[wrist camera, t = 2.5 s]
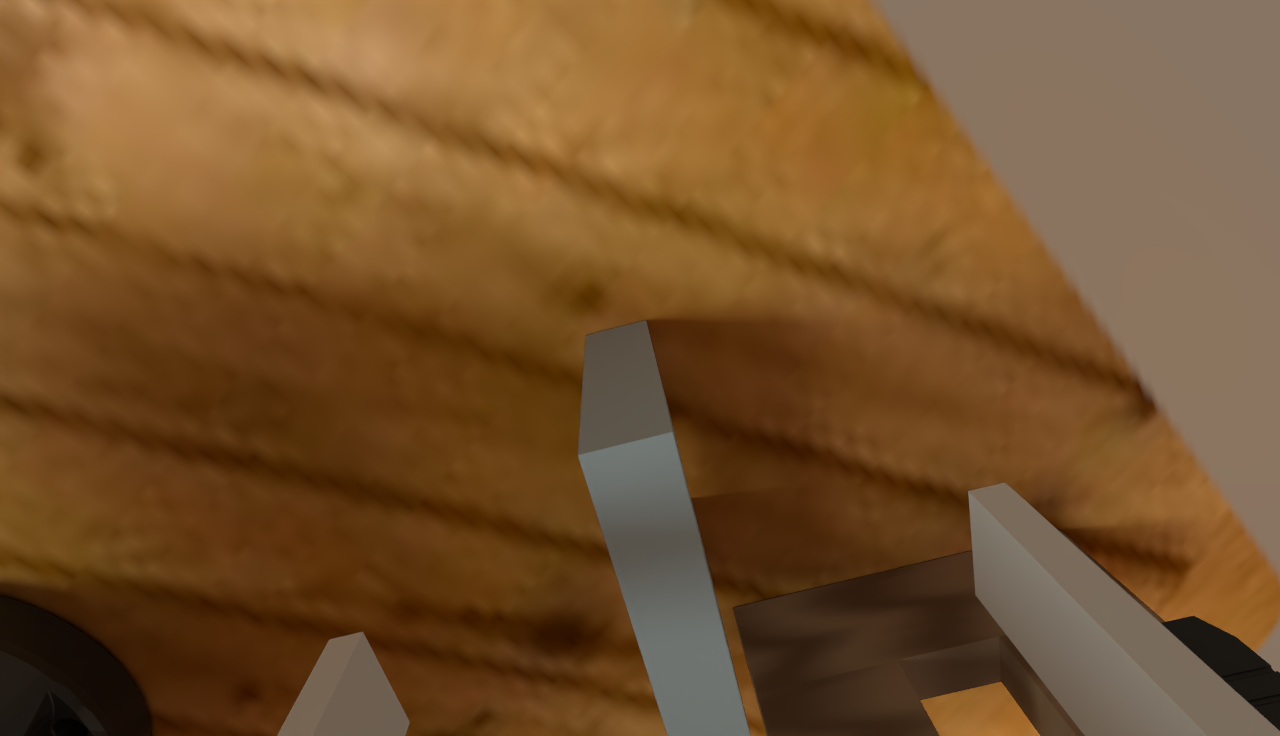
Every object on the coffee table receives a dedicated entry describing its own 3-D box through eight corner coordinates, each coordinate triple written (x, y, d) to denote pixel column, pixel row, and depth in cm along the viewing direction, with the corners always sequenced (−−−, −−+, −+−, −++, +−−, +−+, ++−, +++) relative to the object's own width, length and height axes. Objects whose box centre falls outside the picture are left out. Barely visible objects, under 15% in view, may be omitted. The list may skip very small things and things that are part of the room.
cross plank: (659, 588, 30) (686, 793, 21) (585, 335, 26) (577, 455, 16) (710, 575, 30) (760, 776, 21) (646, 319, 26) (672, 431, 16)
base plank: (742, 646, 32) (801, 861, 23) (733, 607, 31) (790, 815, 22) (1060, 571, 31) (1255, 759, 22) (1060, 529, 31) (1263, 707, 21)
